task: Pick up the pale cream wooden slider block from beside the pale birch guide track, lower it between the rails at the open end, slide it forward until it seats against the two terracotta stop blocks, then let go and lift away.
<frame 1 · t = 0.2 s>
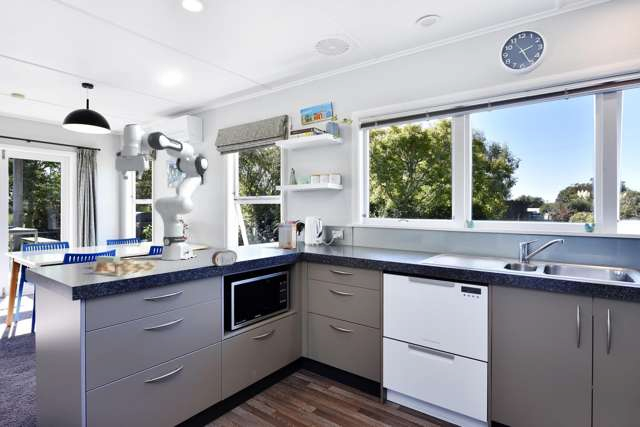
hand: (132, 179, 186), 47 cm above the worktop, tool pointing down, fingers open, 8 cm apart
tin: (224, 265, 191), on the worktop
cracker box: (287, 249, 281), on the worktop
slider: (108, 268, 179), on the worktop
track: (125, 271, 170), on the worktop
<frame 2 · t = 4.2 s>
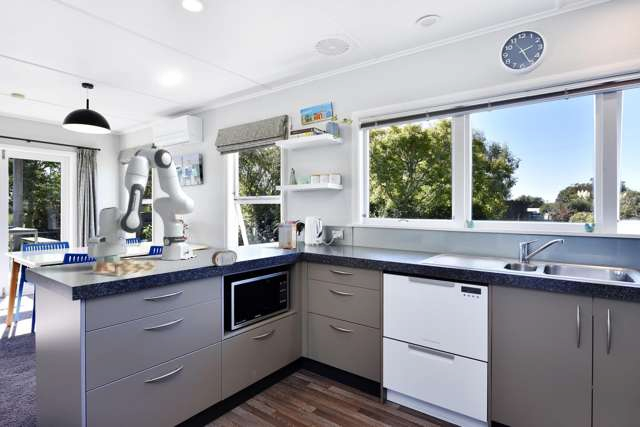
hand: (108, 264, 179), 2 cm above the worktop, tool pointing down, fingers closed on slider, 4 cm apart
slider: (108, 267, 179), on the worktop, touching gripper
everything else where it was.
when the fingers open (3 cm above the worktop, at t = 12.9 s): slider stays where it is, resting on track.
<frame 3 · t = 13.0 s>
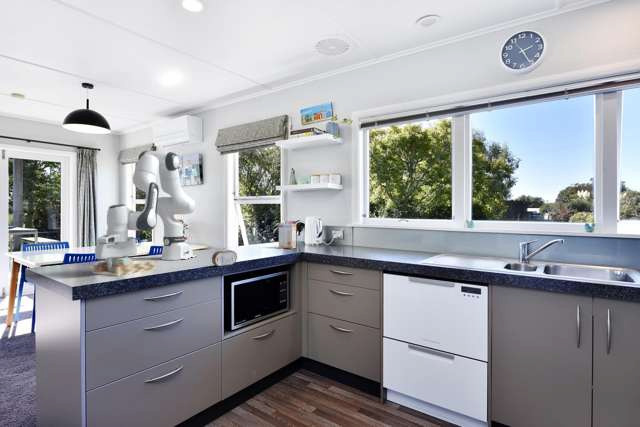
hand: (117, 266, 165), 3 cm above the worktop, tool pointing down, fingers open, 5 cm apart
slider: (117, 270, 166), point 1 cm above the worktop, touching track
everything else where it was.
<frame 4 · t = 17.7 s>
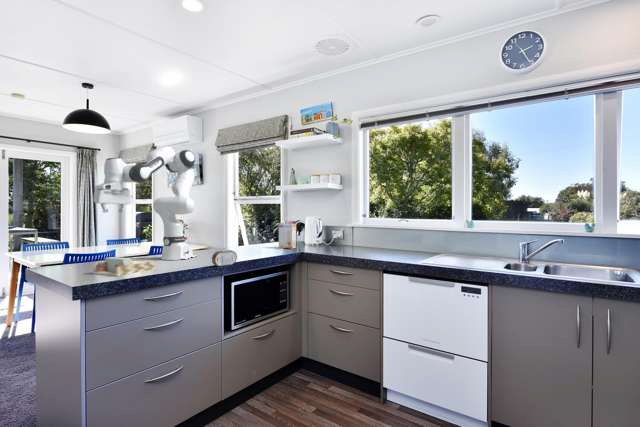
hand: (113, 212, 186), 29 cm above the worktop, tool pointing down, fingers open, 8 cm apart
nothing on the worktop moved.
at the end: slider 0.1 cm from the target spot on the track, point 1.0 cm above the track's base; slider tilted 0°; the gripper is holding nothing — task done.
